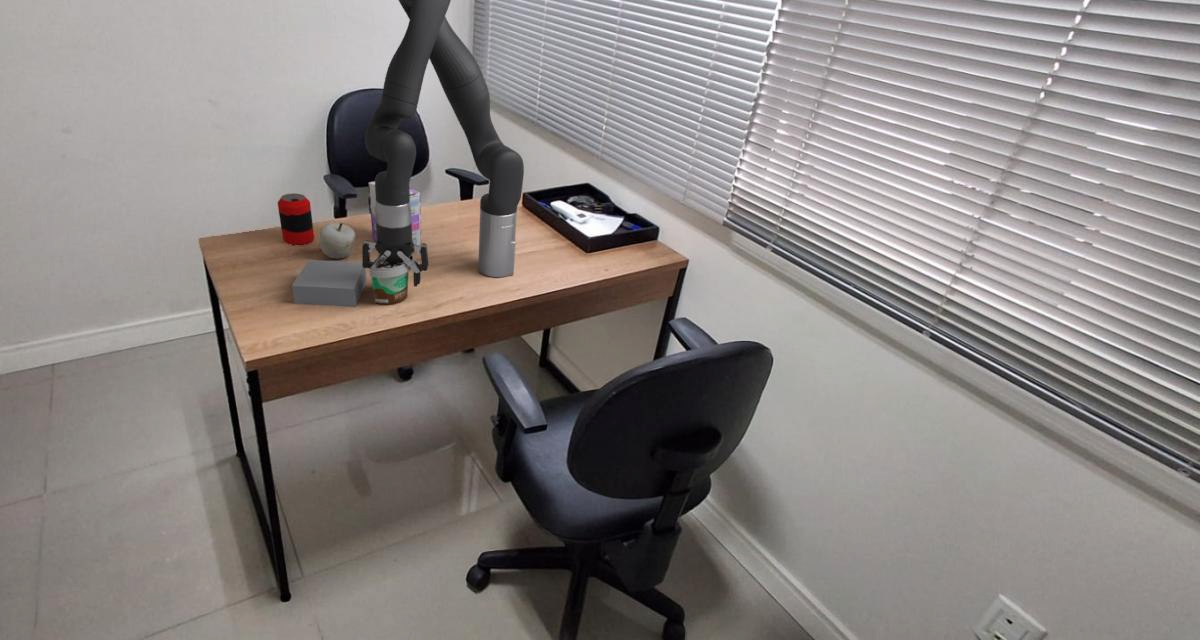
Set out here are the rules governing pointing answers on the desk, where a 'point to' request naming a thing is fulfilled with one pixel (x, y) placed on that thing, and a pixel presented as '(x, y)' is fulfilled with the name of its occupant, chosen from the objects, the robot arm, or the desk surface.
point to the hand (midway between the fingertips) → (396, 284)
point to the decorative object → (337, 240)
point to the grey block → (329, 283)
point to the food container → (390, 282)
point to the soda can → (296, 219)
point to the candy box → (414, 212)
